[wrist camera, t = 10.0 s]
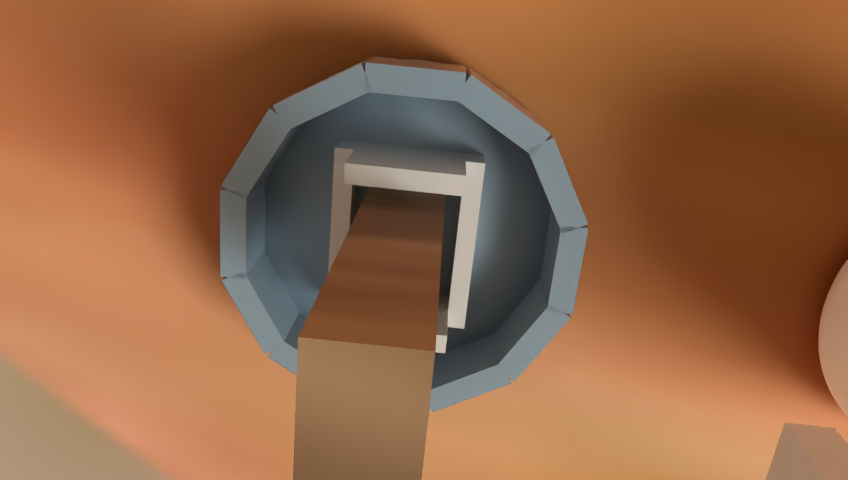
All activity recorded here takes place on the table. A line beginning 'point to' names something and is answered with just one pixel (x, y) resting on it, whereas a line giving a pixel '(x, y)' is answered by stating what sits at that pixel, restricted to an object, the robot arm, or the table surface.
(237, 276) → the blue bowl
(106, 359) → the table surface
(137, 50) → the table surface
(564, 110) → the table surface
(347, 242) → the wooden rectangular block
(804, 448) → the robot arm
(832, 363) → the cup
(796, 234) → the table surface
